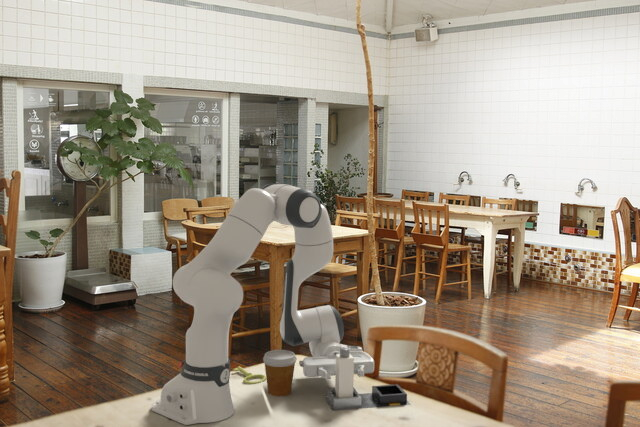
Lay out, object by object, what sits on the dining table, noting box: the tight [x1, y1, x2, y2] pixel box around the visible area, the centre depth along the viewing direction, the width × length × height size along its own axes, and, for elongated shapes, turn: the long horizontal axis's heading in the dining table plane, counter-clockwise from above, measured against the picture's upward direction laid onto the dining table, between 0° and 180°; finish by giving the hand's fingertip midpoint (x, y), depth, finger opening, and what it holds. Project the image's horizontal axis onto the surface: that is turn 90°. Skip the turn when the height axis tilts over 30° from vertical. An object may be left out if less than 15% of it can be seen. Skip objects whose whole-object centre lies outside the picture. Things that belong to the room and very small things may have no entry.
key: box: [232, 365, 267, 385], centre depth 210 cm, size 7×12×2 cm, turn 55°
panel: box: [323, 383, 411, 412], centre depth 191 cm, size 22×10×4 cm, turn 103°
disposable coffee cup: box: [262, 349, 298, 397], centre depth 196 cm, size 10×10×12 cm
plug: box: [334, 348, 355, 398], centre depth 189 cm, size 4×4×15 cm
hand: (345, 375), depth 188 cm, fingers open, 8 cm apart
